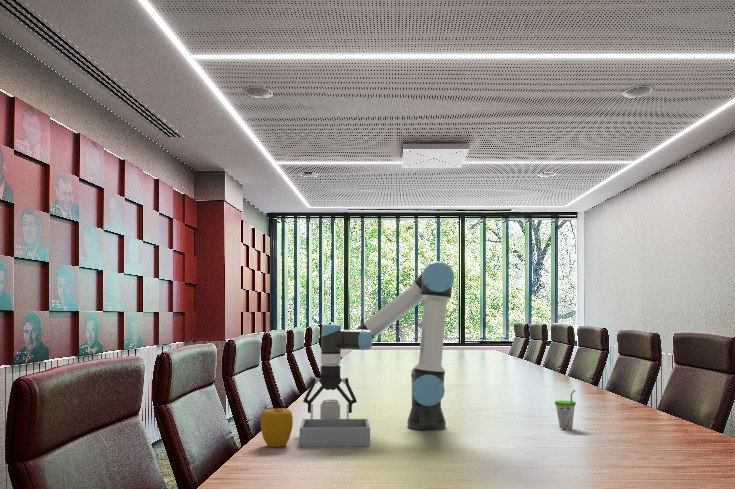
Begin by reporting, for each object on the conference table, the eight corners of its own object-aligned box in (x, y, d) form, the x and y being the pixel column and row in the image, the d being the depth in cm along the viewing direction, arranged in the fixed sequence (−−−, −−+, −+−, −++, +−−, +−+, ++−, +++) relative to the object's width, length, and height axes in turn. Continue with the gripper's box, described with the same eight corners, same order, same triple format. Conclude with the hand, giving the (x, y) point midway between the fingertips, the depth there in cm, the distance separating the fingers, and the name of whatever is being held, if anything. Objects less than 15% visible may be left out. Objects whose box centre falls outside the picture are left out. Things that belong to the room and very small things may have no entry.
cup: (554, 429, 238) (553, 390, 240) (556, 426, 246) (555, 388, 247) (575, 431, 236) (574, 391, 237) (577, 427, 243) (575, 389, 244)
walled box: (367, 435, 227) (367, 418, 228) (370, 445, 210) (370, 427, 210) (302, 435, 226) (302, 419, 227) (299, 446, 209) (299, 428, 209)
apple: (280, 441, 217) (280, 403, 219) (299, 445, 210) (299, 407, 211) (253, 445, 210) (254, 407, 211) (272, 450, 202) (273, 410, 203)
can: (337, 434, 228) (337, 401, 230) (317, 434, 230) (318, 401, 231) (342, 431, 236) (342, 399, 237) (323, 430, 237) (323, 398, 239)
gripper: (362, 364, 240) (362, 420, 238) (298, 363, 239) (297, 419, 237) (363, 366, 232) (362, 423, 230) (297, 365, 231) (295, 423, 229)
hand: (329, 421), depth 233 cm, fingers open, 13 cm apart
